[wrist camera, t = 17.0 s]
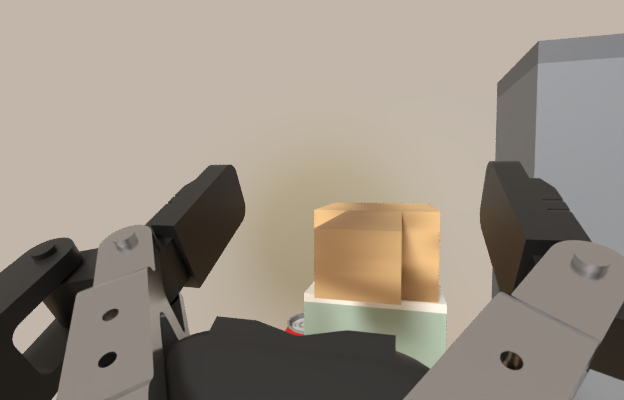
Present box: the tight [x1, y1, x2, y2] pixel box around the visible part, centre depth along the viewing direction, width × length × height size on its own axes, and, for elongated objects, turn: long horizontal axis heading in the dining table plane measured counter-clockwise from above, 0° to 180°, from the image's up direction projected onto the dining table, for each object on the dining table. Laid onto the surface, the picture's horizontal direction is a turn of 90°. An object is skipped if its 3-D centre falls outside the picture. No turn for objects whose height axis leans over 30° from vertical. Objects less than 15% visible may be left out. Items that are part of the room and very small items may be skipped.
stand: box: [492, 34, 624, 400], centre depth 19 cm, size 7×7×32 cm
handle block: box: [314, 203, 440, 305], centre depth 19 cm, size 7×15×5 cm, turn 166°
